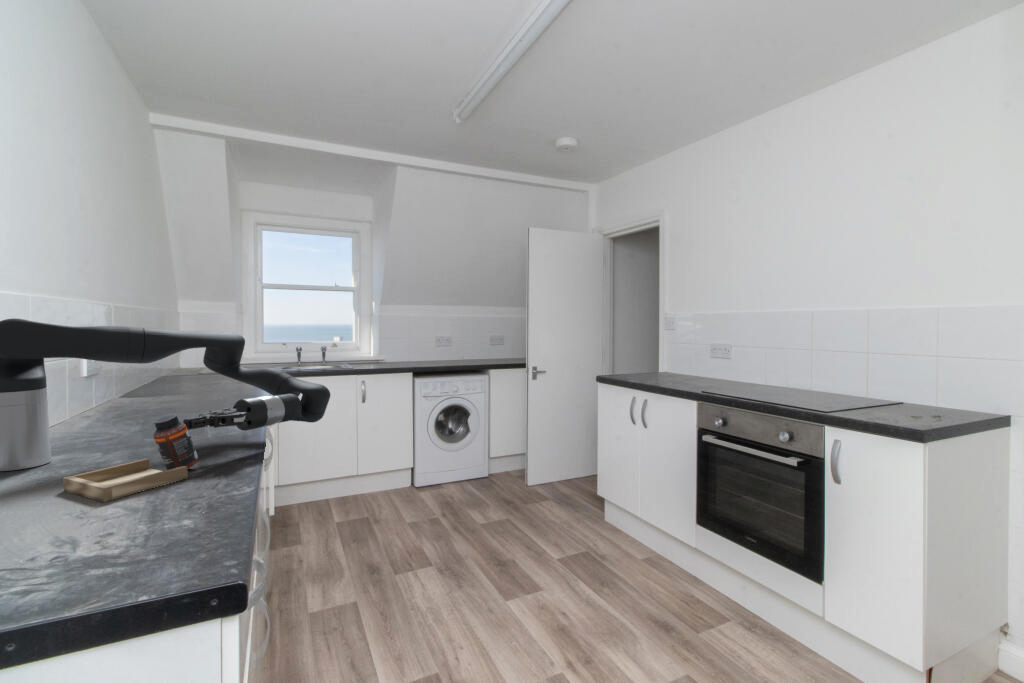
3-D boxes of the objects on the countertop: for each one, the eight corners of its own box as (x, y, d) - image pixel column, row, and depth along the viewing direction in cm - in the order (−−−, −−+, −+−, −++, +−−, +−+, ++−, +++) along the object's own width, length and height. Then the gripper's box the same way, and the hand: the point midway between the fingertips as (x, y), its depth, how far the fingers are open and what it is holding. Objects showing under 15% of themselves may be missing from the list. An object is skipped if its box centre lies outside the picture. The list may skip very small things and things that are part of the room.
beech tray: (63, 490, 93) (63, 477, 93) (146, 470, 105) (146, 458, 105) (104, 502, 86) (103, 488, 86) (187, 478, 98) (187, 466, 98)
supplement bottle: (205, 457, 107) (188, 410, 104) (186, 472, 101) (167, 423, 98) (181, 460, 108) (163, 413, 105) (160, 475, 102) (141, 426, 99)
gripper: (241, 396, 123) (167, 405, 108) (276, 398, 117) (203, 408, 102) (242, 425, 123) (168, 439, 108) (277, 429, 117) (204, 444, 102)
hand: (185, 424), depth 105 cm, fingers closed
